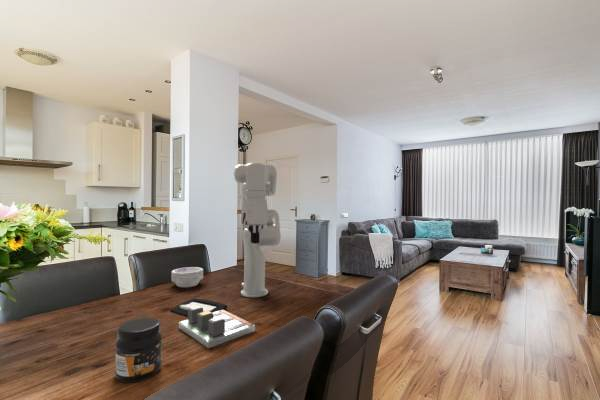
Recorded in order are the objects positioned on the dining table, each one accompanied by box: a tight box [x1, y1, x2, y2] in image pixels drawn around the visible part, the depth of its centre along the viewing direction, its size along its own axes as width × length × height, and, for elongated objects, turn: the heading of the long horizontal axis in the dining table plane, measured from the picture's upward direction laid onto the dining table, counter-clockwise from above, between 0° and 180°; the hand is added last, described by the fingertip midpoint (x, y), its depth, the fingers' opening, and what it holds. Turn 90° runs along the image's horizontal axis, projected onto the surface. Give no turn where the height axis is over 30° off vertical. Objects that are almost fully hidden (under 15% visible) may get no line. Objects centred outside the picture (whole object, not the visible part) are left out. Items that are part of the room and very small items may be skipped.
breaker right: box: [208, 317, 225, 336], centre depth 95 cm, size 3×4×4 cm
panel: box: [178, 309, 256, 349], centre depth 103 cm, size 20×17×2 cm
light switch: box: [170, 297, 228, 318], centre depth 120 cm, size 20×3×14 cm
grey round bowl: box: [171, 266, 204, 288], centre depth 155 cm, size 15×15×8 cm
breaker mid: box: [197, 311, 213, 329], centre depth 100 cm, size 3×4×4 cm
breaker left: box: [187, 306, 203, 323], centre depth 105 cm, size 3×4×4 cm
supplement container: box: [114, 317, 163, 383], centre depth 77 cm, size 10×10×12 cm
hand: (255, 242), depth 117 cm, fingers closed
